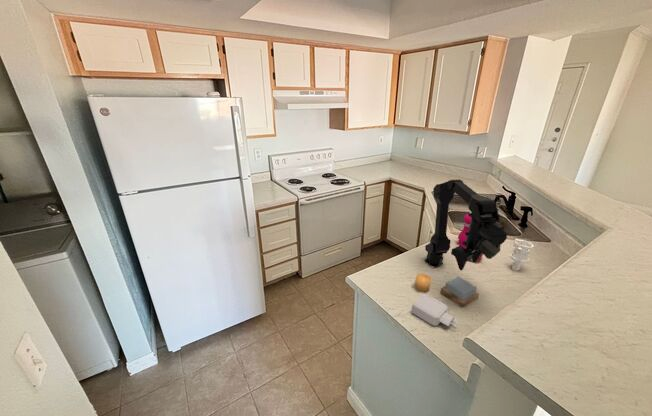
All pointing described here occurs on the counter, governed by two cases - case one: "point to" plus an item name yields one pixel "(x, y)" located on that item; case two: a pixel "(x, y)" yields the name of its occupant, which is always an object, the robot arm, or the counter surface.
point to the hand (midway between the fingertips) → (467, 266)
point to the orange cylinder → (422, 283)
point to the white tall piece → (520, 253)
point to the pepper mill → (462, 234)
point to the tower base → (457, 300)
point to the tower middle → (460, 288)
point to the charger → (432, 311)
